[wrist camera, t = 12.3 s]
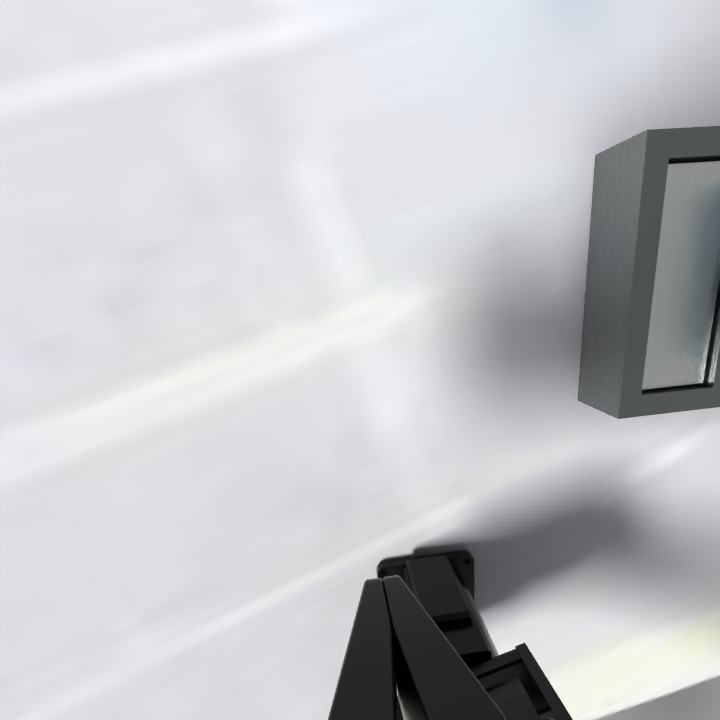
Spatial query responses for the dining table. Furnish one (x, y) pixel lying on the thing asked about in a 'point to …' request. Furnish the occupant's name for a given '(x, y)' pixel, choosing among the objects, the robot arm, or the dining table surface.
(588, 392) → the frame
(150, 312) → the dining table surface
